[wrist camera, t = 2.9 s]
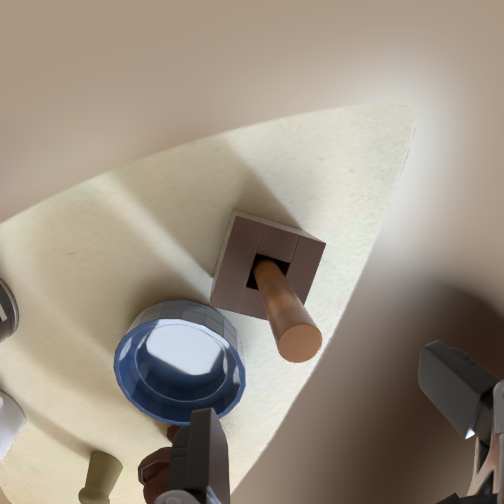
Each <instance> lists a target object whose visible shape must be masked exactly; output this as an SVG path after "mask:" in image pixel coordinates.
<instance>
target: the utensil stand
mask: <svg viewBox="0 0 504 504" xmlns="http://www.w3.org/2000/svg"><path fill="white" fill-rule="evenodd" d="M325 245H326V243H324V242H323V241H321V240H319V239H317V238H316V237H314V236H312V235H310V234H309V233H307V232H305V231H303V230H300V229H297V228H294V227H291V226H288V225H285V224H281V223H278V222H275V221H272V220H269V219H265V218H262V217H259V216H256V215H252V214H249V213H246V212H243V211H239V210H236V209H233V212H232V216H231V219H230V222H229V225H228V229H227V232H226V235H225V239H224V242H223V245H222V249H221V252H220V256H219V259H218V262H217V266H216V269H215V273H214V276H213V281H212V288H211V296H210V303H209V305H210V306H213V307H217V308H221V309H224V310H228V311H232V312H236V313H240V314H243V315H247V316H251V317H255V318H259V319H263V320H268V317H267V314H266V311H265V307H264V304H263V301H262V298H261V295H260V292H259V289H258V286H257V283H256V280H255V276H254V273H253V270H252V265H253V262H254V258H255V255H256V253H257V254H261V255H264V256H268V257H271V258H273V260H274V261H275V263H276V264H277V266H278V267H279V269H280V270H281V272H282V273H283V275H284V277H285V278H286V280H287V281H288V283H289V284H290V286H291V287H292V289H293V290H294V292H295V293H296V295H297V297H298V298H299V300H300V301H301V303H302V304H303V306H304V304H305V301H306V299H307V296H308V293H309V290H310V288H311V285H312V282H313V280H314V277H315V274H316V271H317V268H318V266H319V263H320V260H321V257H322V254H323V251H324V248H325ZM268 321H269V320H268Z"/></svg>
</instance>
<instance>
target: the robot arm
mask: <svg viewBox="0 0 504 504" xmlns="http://www.w3.org/2000/svg"><path fill="white" fill-rule="evenodd" d="M18 321H19V316H18V309H17V305H16V302H15V299H14V297H13V295H12V293H11V291H10V290H9V288H8V287H7V286H6V284H5V283H4V282H3V281H2V280H0V343H1V342H2V341H3V340H5V339H6V338H7V337H9V336H11V335H12V334H13V333H14V332H15V331H16V329H17V327H18ZM418 382H419V385H420V388H421V389H422V391H423V392H424V393H425V394H426V396H427V397H428V398H429V399H430V400H431V401H432V402H433V403H434V405H436V407H437V408H438V409H439V410H440V411H441V412H442V414H443V415H444V416H445V417H446V418H447V419H448V420H449V422H450V423H451V424H452V425H453V426H454V427H455V428H456V430H457V431H458V432H459V433H460V434H461V435H462V437H463V438H464V439H465V440H466V439H467V438H469V437H470V436H472V435H473V434H476V435H477V436H478V437H477V440H476V449H475V461H474V470H473V478H472V483H471V486H470V489H469V491H468V495H467V497H462V498H459V497H458V496H457V494H456V493H454V494H452V495H451V496H449V497H447V498H446V499H444V500H442V501H440V502H438V503H437V504H504V380H502V381H501V380H500V379H499V378H498V377H496V376H495V375H494V374H493V373H491V372H490V371H489V370H488V369H486V368H485V367H484V366H482V365H481V364H480V363H478V362H477V361H476V360H475V359H473V358H471V356H469V355H468V354H467V353H466V352H464V351H463V350H461V349H458V348H455V347H450V348H449V347H448V346H447V345H445V344H444V343H443V342H442V341H440V340H436V341H434V342H432V343H429V344H427V345H425V346H423V347H422V348H421V349H420V360H419V373H418ZM172 448H173V449H172V451H171V458H170V463H169V470H168V476H167V483H166V489H165V493H163V494H161V495H160V496H159V497H157V498H156V500H155V501H154V503H153V504H230V485H229V460H228V445H227V440H226V437H225V434H224V432H223V429H222V427H221V425H220V422H219V420H218V417H217V415H216V413H215V410H214V409H213V408H206V409H199V410H193V411H192V412H191V420H190V424H189V425H181V426H180V428H179V429H178V431H177V432H176V434H175V435H174V439H173V445H172Z"/></svg>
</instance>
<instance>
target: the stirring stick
mask: <svg viewBox="0 0 504 504" xmlns="http://www.w3.org/2000/svg"><path fill="white" fill-rule="evenodd" d="M252 270H253V273H254V276H255V280H256V283H257V286H258V289H259V292H260V295H261V298H262V301H263V304H264V307H265V311H266V314H267V317H268V320H269V323H270V326H271V329H272V332H273V335H274V338H275V341H276V345H277V348H278V351H279V353H280V355H281V356H282V357H283V358H284V359H286V360H287V361H290V362H294V363H300V362H305V361H307V360H309V359H311V358H313V357H314V356H315V355H316V354H317V353H318V351H319V350H320V348H321V345H322V335H321V332H320V331H319V329H318V328H317V326H316V324H315V323H314V321H313V320H312V318H311V317H310V315H309V314H308V312H307V310H306V309H305V307H304V306H303V304H302V303H301V301H300V300H299V298H298V297H297V295H296V293H295V292H294V290H293V289H292V287H291V286H290V284H289V283H288V281H287V280H286V278H285V277H284V275H283V273H282V272H281V270H280V269H279V267H278V266H277V264H276V263H275V261H274V260H273V258H271V257H268V256H264V255H261V254H257V253H256V255H255V258H254V262H253V265H252Z"/></svg>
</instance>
